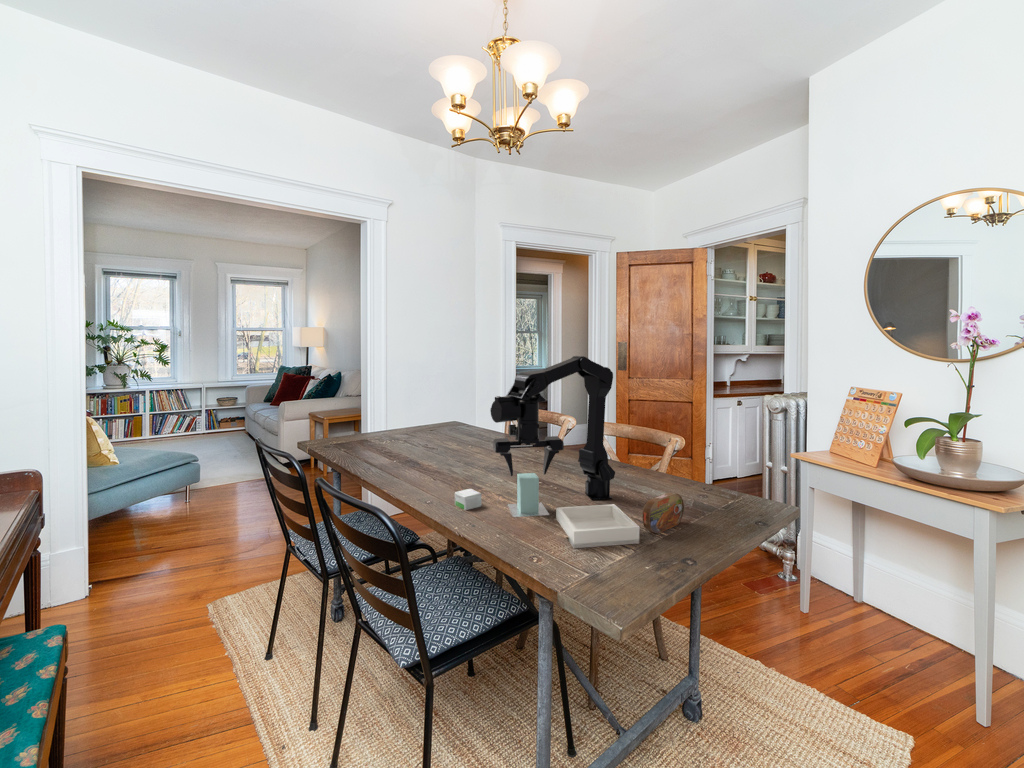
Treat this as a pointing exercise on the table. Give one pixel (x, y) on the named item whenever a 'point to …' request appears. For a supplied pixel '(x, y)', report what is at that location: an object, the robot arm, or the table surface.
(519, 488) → the block
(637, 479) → the table surface
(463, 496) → the small box
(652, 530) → the tin
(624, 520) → the bin
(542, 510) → the stud plate
